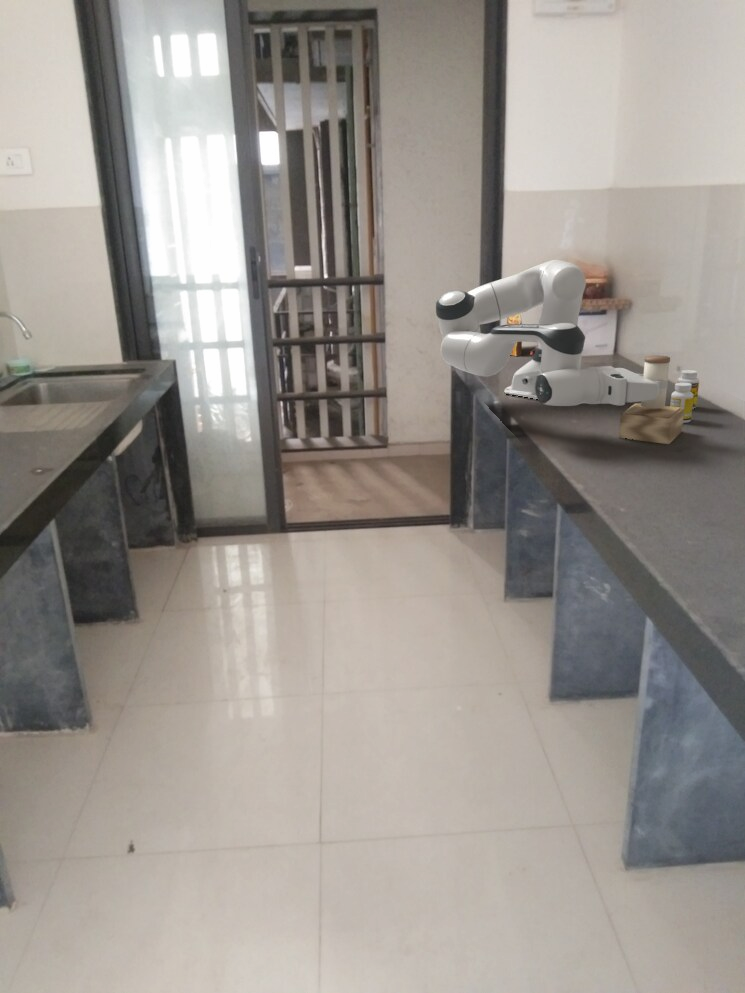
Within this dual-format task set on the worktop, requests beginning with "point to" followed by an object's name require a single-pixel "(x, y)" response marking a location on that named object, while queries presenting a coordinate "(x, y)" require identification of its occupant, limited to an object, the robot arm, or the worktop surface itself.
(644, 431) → the oak block
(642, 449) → the worktop surface
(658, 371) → the cream tin
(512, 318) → the pancake mix bag
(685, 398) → the supplement bottle
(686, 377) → the supplement bottle
